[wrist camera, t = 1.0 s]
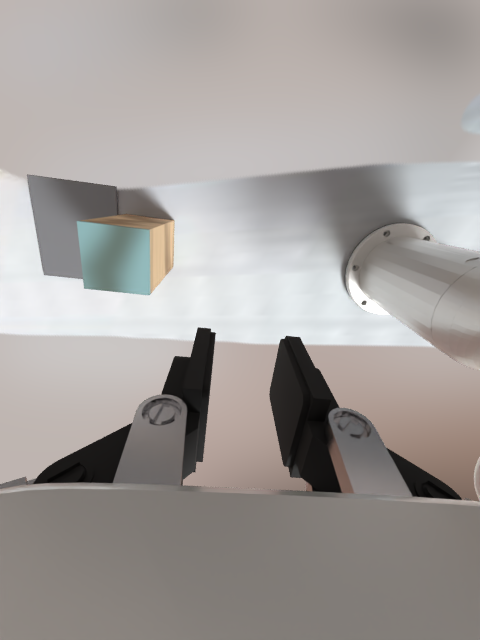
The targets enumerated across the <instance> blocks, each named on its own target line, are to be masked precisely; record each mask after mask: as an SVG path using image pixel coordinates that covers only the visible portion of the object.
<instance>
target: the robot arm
mask: <svg viewBox="0 0 480 640" xmlns="http://www.w3.org/2000/svg"><path fill="white" fill-rule="evenodd" d="M384 232H385V234H384V235H383V233H384ZM353 266H354V268H352V267H353ZM345 278H346V287H347V291H348V293H349V295H350V297H351V299H352V300H353V301H354V302H355V303H356V304H357V305H358V306H359V307H361V308H362V309H364V310H366V311H367V312H371V313H374V314H381V315H384V314H390V315H391V316H393V317H394V318H395V319H397V320H398V321H400V322H401V323H402V324H404V325H405V326H407V327H408V328H409V329H411V330H412V331H414V332H415V333H416V334H418V335H419V336H420V337H422V338H423V339H425V340H426V341H427V342H429V343H430V344H432V345H433V346H435V347H436V348H437V349H439V350H440V351H441V352H443V353H445V354H446V355H448V356H449V357H450V358H452V359H453V360H455V361H456V362H458V363H460V364H462V365H464V366H466V367H469V368H472V369H475V370H479V371H480V252H479V251H474V250H469V249H464V248H459V247H454V246H450V245H445V244H440V243H437V242H436V240H435V239H434V237H433V235H431V234H430V233H429V232H428V231H427V230H426V229H424V228H422V227H420V226H417V225H413V224H406V223H398V224H391V225H387V226H384V227H382V228H380V229H378V230H375V231H374V232H373V233H371V234H370V235H368V236H367V237H366V238H365V239H364V240H363V241H362V242H361V243H360V244H359V245H358V246H357V248H356V249H355V250H354V252H353V254H352V255H351V257H350V259H349V262H348V265H347V269H346V276H345ZM215 334H216V333H214V332H211V329H208V328H198V329H197V333H196V337H195V341H194V345H193V350H192V354H191V357H179V356H175V357H174V359H173V362H172V365H171V368H170V371H169V374H168V377H167V380H166V382H165V385H164V388H163V391H162V394H161V395H157V396H153V397H150V398H148V399H146V400H144V401H143V402H142V403H141V404H140V405H139V407H138V409H137V410H136V414H135V417H134V420H133V423H131V424H129V425H127V426H125V427H123V428H121V429H119V430H117V431H116V432H113V433H111V434H110V435H107V436H106V437H104V438H102V439H100V440H98V441H96V442H94V443H92V444H90V445H88V446H86V447H84V448H82V449H80V450H78V451H76V452H74V453H72V454H70V455H68V456H66V457H64V458H62V459H60V460H58V461H57V462H55V463H53V464H52V465H50V466H49V467H47V468H46V469H45V470H44V471H43V472H42V473H41V474H40V475H39V476H38V477H37V478H36V479H33V480H29V481H27V478H26V477H23V478H20V479H16V480H13V481H10V482H6V483H3V484H0V640H480V502H476V501H472V500H470V499H467V498H465V499H464V500H462V499H461V497H460V496H459V495H458V494H457V493H456V492H455V491H454V490H452V488H450V487H449V486H448V485H446V484H445V483H443V482H442V481H440V480H439V479H437V478H435V477H434V476H432V475H430V474H429V473H427V472H425V471H424V470H422V469H420V468H419V467H417V466H416V465H414V464H412V463H411V462H409V461H407V460H406V459H404V458H402V457H401V456H399V455H397V454H396V453H394V452H392V451H391V450H389V449H388V448H386V447H385V445H384V443H383V441H382V439H381V438H380V436H379V434H378V432H377V430H376V429H375V427H374V425H373V424H372V423H371V421H370V420H368V419H367V418H366V417H365V416H364V415H362V414H360V413H359V412H356V411H354V410H351V409H347V408H339V406H338V404H337V402H336V400H335V399H334V396H333V395H332V393H331V391H330V389H329V387H328V385H327V383H326V381H325V379H324V378H323V376H322V374H321V372H320V370H319V369H317V368H315V366H314V364H313V362H312V360H311V358H310V356H309V355H308V353H307V351H306V349H305V347H304V345H303V343H302V341H301V339H300V337H291V336H286V337H285V339H281V340H280V344H279V349H278V354H277V359H276V363H275V368H274V373H273V378H272V382H271V387H270V402H271V406H272V411H273V416H274V421H275V426H276V431H277V436H278V441H279V445H280V451H281V455H282V460H283V465H284V466H287V467H289V472H290V477H296V478H303V479H304V480H305V481H306V491H292V490H271V489H249V488H227V487H202V486H183V479H185V478H186V477H187V476H188V475H190V474H191V473H192V472H195V469H196V462H203V453H204V443H205V434H206V423H207V414H208V405H209V395H210V385H211V375H212V364H213V354H214V344H215ZM474 486H475V490H476V493H477V496H478V498H479V501H480V457H479V459H478V461H477V464H476V467H475V471H474Z"/></svg>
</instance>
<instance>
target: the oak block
mask: <svg viewBox="0 0 480 640" xmlns="http://www.w3.org/2000/svg"><path fill="white" fill-rule="evenodd" d="M77 228H78V237H79V246H80V255H81V264H82V273H83V282H84V289H94V290H104V291H113V292H123V293H132V294H142V295H150V294H151V293H152V292H153V290H154V289H155V288H156V287H157V286H158V284H159V283H160V282H161V281H162V280H163V278H164V277H165V276H166V275H167V274H168V272H169V271H170V270H171V269H172V268H173V256H174V220H168V219H160V218H152V217H144V216H136V215H129V214H124V215H117V216H109V217H102V218H95V219H88V220H81V221H77Z"/></svg>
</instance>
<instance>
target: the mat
mask: <svg viewBox="0 0 480 640" xmlns="http://www.w3.org/2000/svg"><path fill="white" fill-rule="evenodd" d="M27 177H28V183H29V189H30V195H31V201H32V207H33V213H34V218H35V224H36V230H37V236H38V242H39V248H40V254H41V259H42V265H43V271H44V275H50V276H59V277H68V278H78V279H83V273H82V264H81V255H80V246H79V237H78V228H77V221H81V220H88V219H95V218H102V217H109V216H117V215H118V209H117V190H116V187H115V186H108V185H100V184H93V183H86V182H79V181H71V180H64V179H56V178H49V177H42V176H34V175H27Z"/></svg>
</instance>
